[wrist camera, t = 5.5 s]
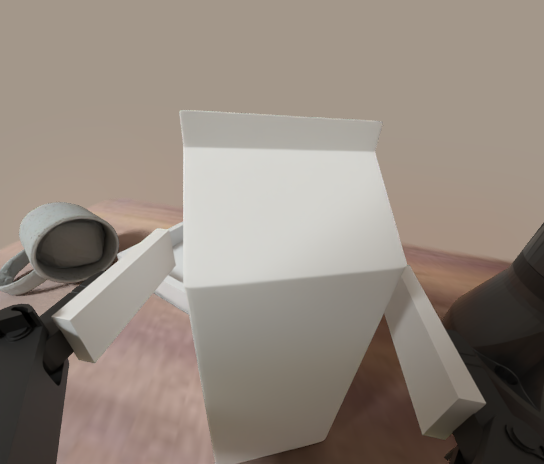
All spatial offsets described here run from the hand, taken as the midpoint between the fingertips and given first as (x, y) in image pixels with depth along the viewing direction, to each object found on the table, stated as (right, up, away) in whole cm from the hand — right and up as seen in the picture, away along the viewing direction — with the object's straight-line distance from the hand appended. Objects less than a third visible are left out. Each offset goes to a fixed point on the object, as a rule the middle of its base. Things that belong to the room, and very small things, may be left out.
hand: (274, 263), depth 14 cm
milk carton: (-1, -11, +4) cm, 11 cm away
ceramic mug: (-25, -3, +14) cm, 28 cm away
